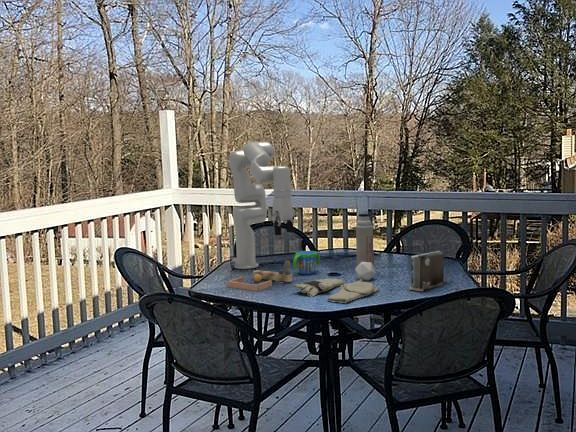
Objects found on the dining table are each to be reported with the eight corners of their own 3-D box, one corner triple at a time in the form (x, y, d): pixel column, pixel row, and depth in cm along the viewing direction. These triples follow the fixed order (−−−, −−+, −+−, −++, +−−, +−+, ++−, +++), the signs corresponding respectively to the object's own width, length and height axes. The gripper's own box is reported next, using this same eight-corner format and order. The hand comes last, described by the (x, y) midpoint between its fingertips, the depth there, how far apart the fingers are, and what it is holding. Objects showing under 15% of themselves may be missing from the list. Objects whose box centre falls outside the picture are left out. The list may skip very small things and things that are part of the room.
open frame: (227, 287, 251) (226, 281, 251) (241, 282, 260) (241, 276, 260) (257, 291, 242) (257, 285, 241) (272, 285, 250) (271, 280, 250)
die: (379, 280, 256) (371, 261, 260) (375, 274, 249) (368, 255, 253) (362, 286, 257) (355, 267, 262) (358, 281, 250) (351, 261, 254)
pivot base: (272, 282, 256) (272, 281, 256) (279, 279, 261) (279, 279, 261) (283, 283, 253) (283, 283, 253) (290, 281, 258) (290, 280, 258)
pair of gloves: (289, 294, 236) (288, 282, 235) (329, 282, 254) (329, 271, 253) (345, 306, 215) (345, 293, 214) (385, 292, 233) (385, 280, 232)
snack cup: (313, 269, 282) (313, 248, 280) (326, 272, 273) (326, 251, 272) (287, 274, 273) (286, 253, 272) (299, 277, 264) (299, 256, 263)
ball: (252, 282, 259) (252, 274, 258) (257, 280, 262) (256, 272, 261) (258, 283, 257) (258, 275, 256) (263, 281, 260) (263, 273, 259)
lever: (253, 277, 264) (252, 258, 263) (257, 276, 267) (256, 257, 266) (288, 281, 253) (288, 261, 252) (292, 280, 255) (291, 260, 254)
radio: (436, 279, 250) (435, 246, 249) (453, 282, 244) (453, 248, 242) (404, 289, 235) (403, 254, 233) (421, 293, 228) (421, 256, 227)
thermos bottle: (377, 273, 267) (376, 213, 264) (363, 275, 263) (361, 215, 260) (367, 270, 274) (366, 212, 271) (353, 272, 270) (352, 214, 267)
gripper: (286, 193, 257) (287, 230, 259) (264, 196, 243) (266, 236, 245) (300, 193, 253) (301, 231, 255) (278, 196, 239) (280, 236, 240)
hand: (284, 233), depth 250 cm, fingers open, 9 cm apart
